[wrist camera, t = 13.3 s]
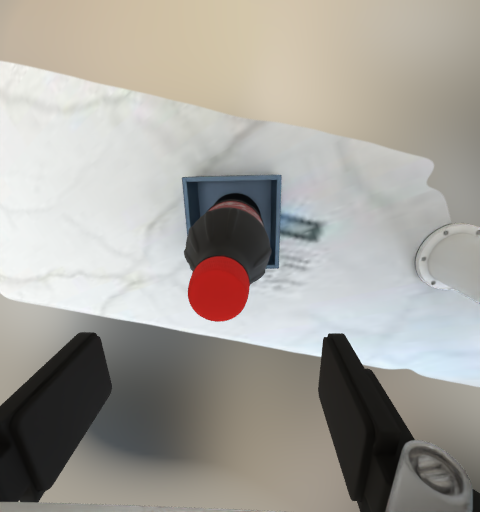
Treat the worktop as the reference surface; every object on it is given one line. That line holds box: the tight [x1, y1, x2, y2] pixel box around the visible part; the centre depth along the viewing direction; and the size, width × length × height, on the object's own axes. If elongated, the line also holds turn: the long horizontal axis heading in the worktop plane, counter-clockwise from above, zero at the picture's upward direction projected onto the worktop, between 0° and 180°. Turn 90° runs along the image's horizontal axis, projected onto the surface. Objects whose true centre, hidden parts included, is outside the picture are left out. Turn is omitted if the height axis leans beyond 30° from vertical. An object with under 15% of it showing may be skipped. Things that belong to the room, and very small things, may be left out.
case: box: [182, 175, 281, 270], centre depth 40 cm, size 14×14×9 cm
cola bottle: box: [184, 193, 272, 322], centre depth 29 cm, size 8×8×30 cm
